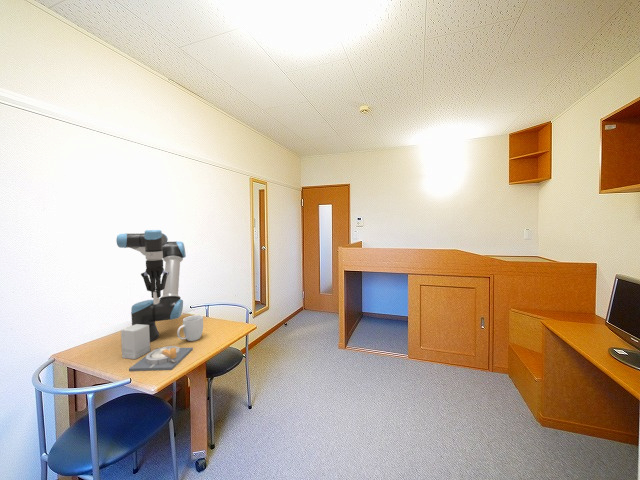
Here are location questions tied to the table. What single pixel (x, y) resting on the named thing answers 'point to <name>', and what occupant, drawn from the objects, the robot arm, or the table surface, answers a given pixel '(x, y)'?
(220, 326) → the table surface
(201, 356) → the table surface
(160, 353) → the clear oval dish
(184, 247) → the robot arm
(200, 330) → the mug
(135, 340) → the supplement box
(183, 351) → the panel
